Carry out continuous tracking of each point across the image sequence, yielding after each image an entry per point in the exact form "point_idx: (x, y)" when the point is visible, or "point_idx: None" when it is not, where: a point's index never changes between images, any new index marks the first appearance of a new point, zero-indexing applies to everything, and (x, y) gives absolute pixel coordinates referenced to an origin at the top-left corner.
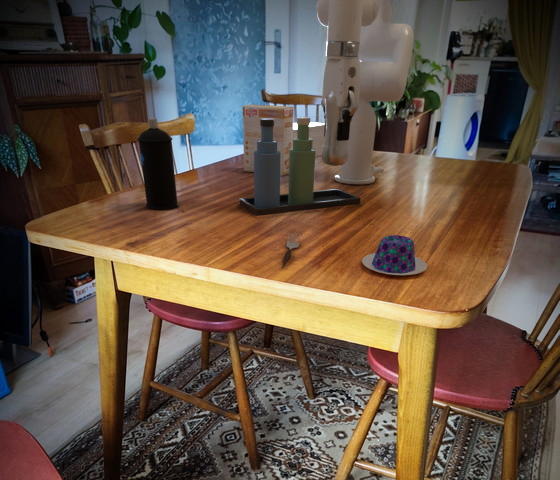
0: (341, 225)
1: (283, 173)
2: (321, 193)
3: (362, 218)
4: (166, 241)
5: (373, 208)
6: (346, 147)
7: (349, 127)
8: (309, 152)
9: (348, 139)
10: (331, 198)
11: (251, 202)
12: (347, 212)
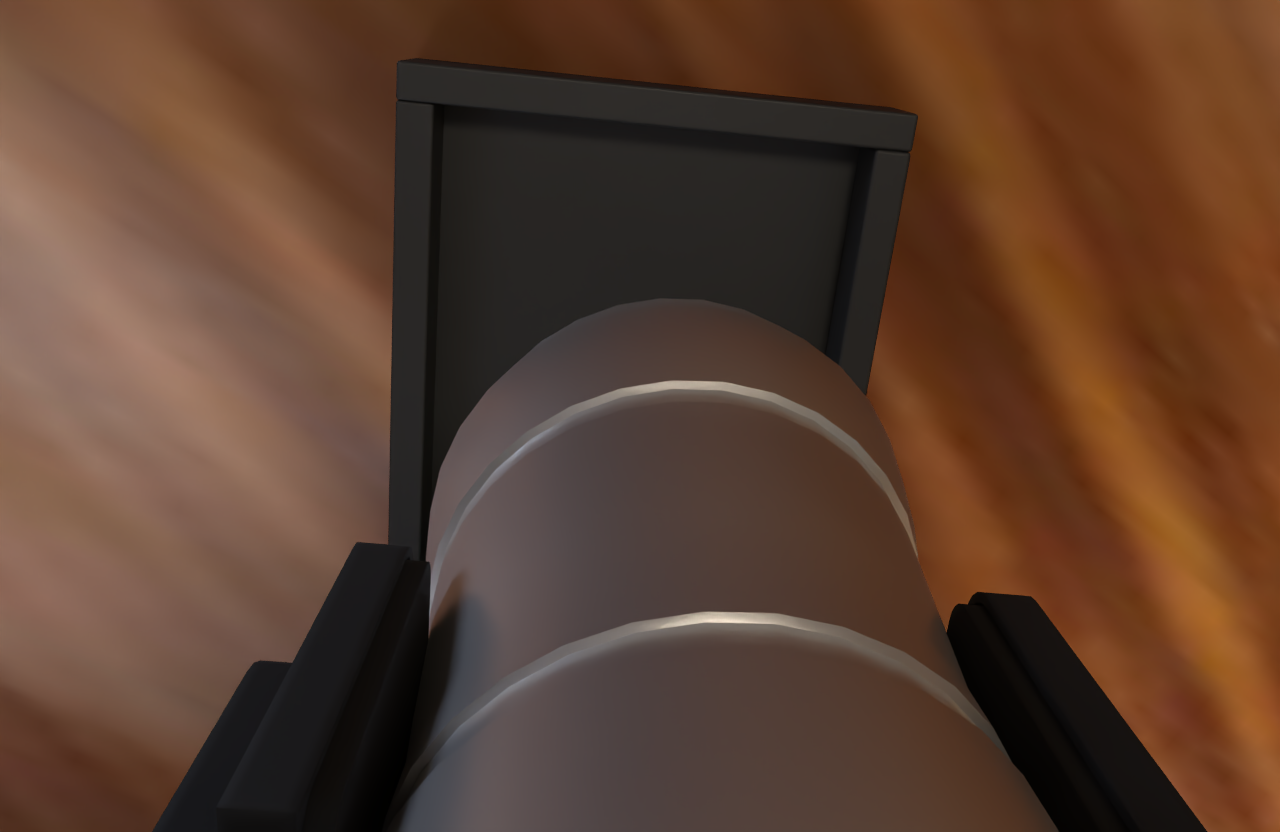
0: (1247, 645)
1: None
2: (431, 327)
3: (1227, 377)
4: None
5: (1049, 27)
6: (900, 501)
7: (1157, 779)
8: None
9: (1024, 599)
10: (552, 259)
11: None
12: (997, 376)
